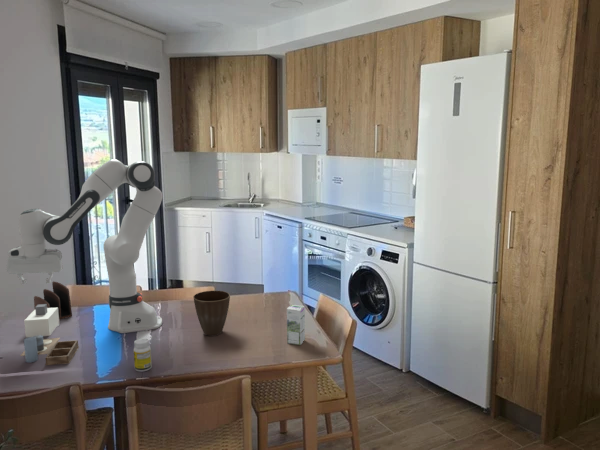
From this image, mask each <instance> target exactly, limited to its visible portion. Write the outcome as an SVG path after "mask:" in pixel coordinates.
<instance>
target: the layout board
mask: <svg viewBox="0 0 600 450" xmlns="http://www.w3.org/2000/svg"><path fill="white" fill-rule="evenodd" d="M33 337H36V341H37V352H38V356H40V355H41V356H42V355H48V353H49V352H50V351H51V349H52V348H53V346H54V345H55V343H56V342H59V341H60V340H61V337H53V338H52V337H50V338H44V336H42V335H37V336H33ZM19 356H20V357H25V350H24V351H23V352H22V353H21V354H20V355H19Z"/></svg>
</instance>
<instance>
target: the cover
mask: <svg viewBox="0 0 600 450" xmlns="http://www.w3.org/2000/svg"><path fill="white" fill-rule="evenodd" d="M23 322H24V332H25V338H29V337H33V336H37V335H42V336H43V337H51V335H52V334H53V333H54V331H55V330H56V328H57V327H60V320H59V313H58V307H57V308H47V304H39V305H37V306H36V307H35V309H34V310H33V311H32V312H30V314H28V316H27V317H26V318H25V319H24V320H23Z"/></svg>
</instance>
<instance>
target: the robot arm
mask: <svg viewBox="0 0 600 450" xmlns="http://www.w3.org/2000/svg"><path fill="white" fill-rule="evenodd" d="M155 175H156V174H155V170H154V168H153V166H152V165H151V164H150V163H148V162H146V161H143V160H142V161H141V160H140V161H138V160H137V161H135V162H133V163H132V164H129V165H127V164H126V165H125V164H124V163H123V162H122V161H120V160H118V159H115V158H114V159H109V160H108V161H106V162H104V163H103V164H101V165H100V166H99V167H98V168H96V169H95V170H94V171H93V172H92V173H91V174H90V175H89V176H88V177H87V179H85V181H84V183H83V184H82V187H81V191H80V194H79V196H78V197H77V199H76V200H75V202H74V203H73V204H71V206H70V207H69V208H68V209H67V210H66V211H65V212H64V213H63V214H62V215H61V216H59V215H55V214H53V213H52V214H51V213H49V212H45V211H43V210H42V209H40V208H31V209H28V210H25V211H22V212H21V213H20V215H19V218H18V229H19V235H20V246H17V247H14V248H12V249H10V250H9V251H8V252H7V255H8V257H7V259H6V272H7V274H8V275H16V276H17V278H18V279H19V280H20V284H21V285H26V284H27V279H26V278H25V277H23V274H41V273H43V274H46V273H48V278H46V279H45V281H46V282H45V283H46V284H51V283H52V278H53V276H54V273H59V272H61V271H62V270H63V261H62V258H63V256H62V255H63V253H62V251H61V250H59V249H58V248H54V249H51V248H49V249H48V248H47V247H46V242H48V243H49V244H50V245H55V246H61V245H64V244H66V243H68V241H69V240H70V239H71V238H72V235H73V232H74V230H75V228H76V226H77V225H78V224H79V223H80V222H81V221H82V220H83V219H84V218H85V217H86V216H87V215H88V214H89V213H90V212H91V211H92V210H93V208H95V207H97V206H98V205H99V204H100V203H103V201H104V200H106V199H107V198H108V197H109V196H111V194H112V193H114V192H115V191H116V190H117V188H119V187H120V186H121V185H123V184H126V185H128V186H130V187H132V188H135V190H136V191H135V192H136V194H135V196H134V198H133V200H132V202H131V204H130V206H129V207H128V209H127V210H126V212H125V214H124V216H123V218H122V220H121V223H120V228H119V230H118V233H117V234H114V235H110V236H109V237H107V238H106V239H105V240H104V243H103V251H104V252H103V253H104V260H105V265H106V272H107V275H108V285H109V295H108V306H109V309H110V311H109V319H108V320H109V321H108V325H107V329H108V330H110V331H113V332H117V333H119V334H126V333H127V334H128V333H134V332H140V331H141V332H143V331H148V330H157V329H159V328H160V327H161V326H162V324H163V318H162V317H160V316H158V314H157V311H156V309H155V307H154V306H152V305H150V304H148V303H147V302H145V301H144V300H143V294H142V292H138V289H137V288H138V285H137V274H136V272H135V267H134V264H135V263H137V261H138V259H139V258H140V251H141V248H142V246H143V242H144V239H145V236H146V233H147V232H148V230H149V227H150V226H151V224H152V222H153V221H154V219H155V217H156V215H157V213H158V211H159V209H160V206H161V203H162V200H163V198H164V197H163V192H162V191H161V189H160V188H158V187H157V186H155V185H156V181H155V180H156V179H155V178H156V177H155Z"/></svg>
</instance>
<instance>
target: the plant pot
mask: <svg viewBox="0 0 600 450" xmlns="http://www.w3.org/2000/svg"><path fill="white" fill-rule="evenodd" d="M230 298H231V294H230V293H229V292H227V291H224V290H205V291H200V292H198V293H195V294H194V295H193V302H194V309H195V313H196V316H197V319H198V323H199V325H200V328H201V330H202V333H203V334H204V335H205V336H208V337H209V336H211V337H212V336H219V335H221V334H222V332H223V330H224V326H225V324H226V321H227V317H228V312H229V307H230Z"/></svg>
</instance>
